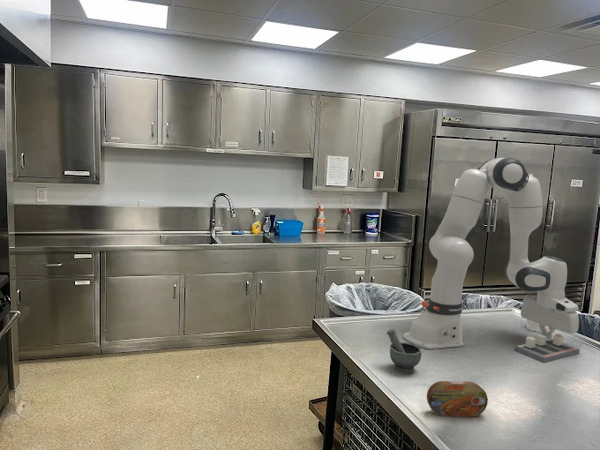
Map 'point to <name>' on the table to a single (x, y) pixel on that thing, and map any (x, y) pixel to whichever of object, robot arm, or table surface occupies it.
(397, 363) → the mortar and pestle
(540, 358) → the panel
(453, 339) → the robot arm
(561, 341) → the block
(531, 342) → the block
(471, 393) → the tin
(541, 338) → the block
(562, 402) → the table surface
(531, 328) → the white cup
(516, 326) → the table surface
